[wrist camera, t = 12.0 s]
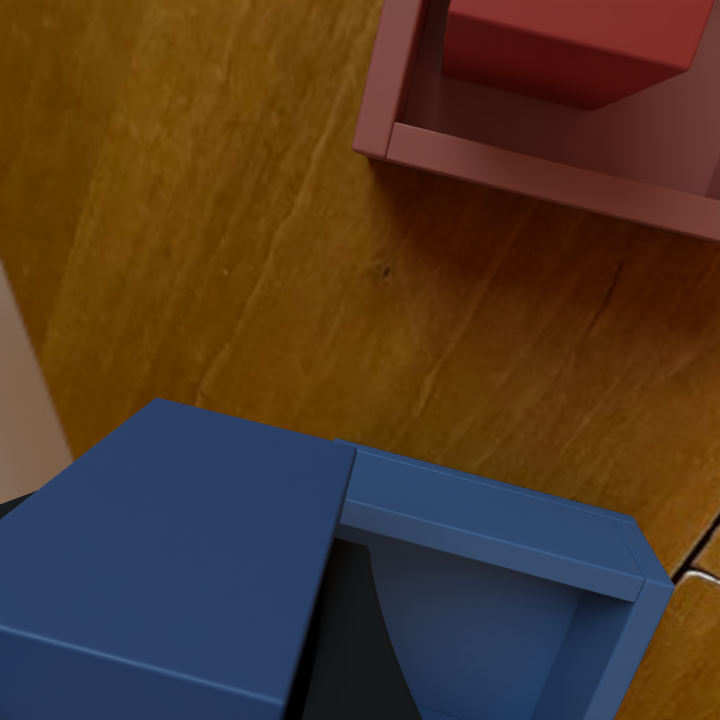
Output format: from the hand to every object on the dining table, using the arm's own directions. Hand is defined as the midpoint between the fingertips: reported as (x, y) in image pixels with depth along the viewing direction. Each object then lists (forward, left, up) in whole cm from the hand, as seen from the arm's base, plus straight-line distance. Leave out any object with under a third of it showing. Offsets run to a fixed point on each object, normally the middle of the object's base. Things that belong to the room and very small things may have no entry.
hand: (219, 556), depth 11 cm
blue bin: (+6, -6, -8) cm, 12 cm away
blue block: (0, 0, -1) cm, 1 cm away
